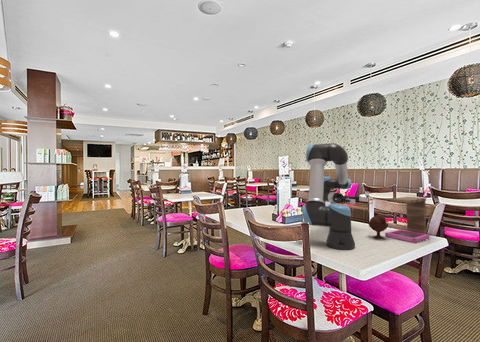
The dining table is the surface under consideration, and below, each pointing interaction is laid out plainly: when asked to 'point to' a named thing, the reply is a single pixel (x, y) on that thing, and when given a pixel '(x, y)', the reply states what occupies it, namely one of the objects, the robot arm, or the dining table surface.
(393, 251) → the dining table surface
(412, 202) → the display shelf
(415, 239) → the seat plate
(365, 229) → the dining table surface
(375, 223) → the ice cream bowl
